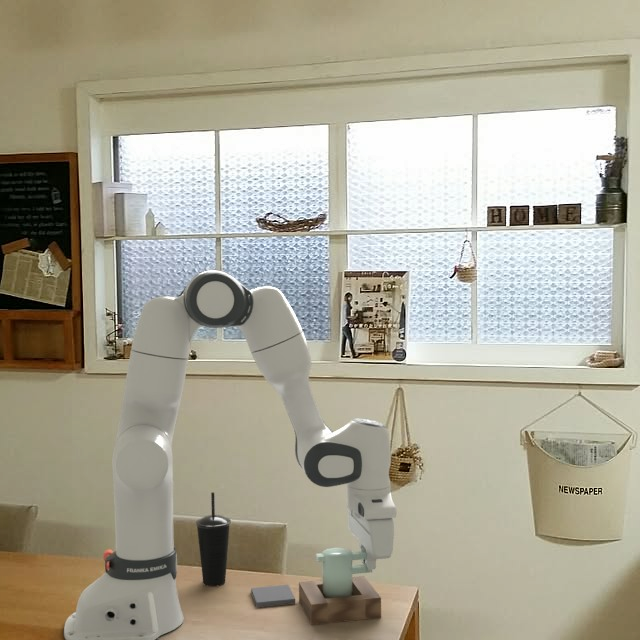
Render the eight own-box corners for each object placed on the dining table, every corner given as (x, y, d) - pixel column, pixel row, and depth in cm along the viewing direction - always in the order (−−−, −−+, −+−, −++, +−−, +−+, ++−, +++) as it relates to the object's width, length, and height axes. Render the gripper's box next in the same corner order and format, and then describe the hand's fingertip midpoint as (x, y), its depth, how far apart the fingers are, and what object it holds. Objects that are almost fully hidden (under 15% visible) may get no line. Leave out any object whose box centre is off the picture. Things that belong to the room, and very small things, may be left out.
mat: (256, 607, 168) (256, 602, 168) (251, 592, 176) (251, 588, 176) (295, 603, 170) (295, 598, 170) (288, 589, 178) (288, 584, 178)
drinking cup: (225, 590, 178) (224, 498, 176) (191, 587, 179) (190, 496, 178) (236, 577, 185) (234, 489, 184) (203, 575, 187) (202, 487, 186)
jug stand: (311, 624, 159) (311, 604, 159) (299, 601, 171) (298, 582, 171) (381, 617, 163) (381, 597, 162) (364, 594, 174) (364, 576, 174)
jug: (320, 604, 163) (320, 559, 162) (314, 592, 169) (313, 549, 168) (375, 598, 165) (375, 554, 165) (367, 587, 171) (367, 545, 171)
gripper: (340, 487, 176) (340, 550, 177) (367, 513, 157) (367, 585, 157) (369, 485, 178) (369, 548, 179) (399, 511, 158) (399, 582, 159)
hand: (368, 566), depth 168 cm, fingers closed on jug
